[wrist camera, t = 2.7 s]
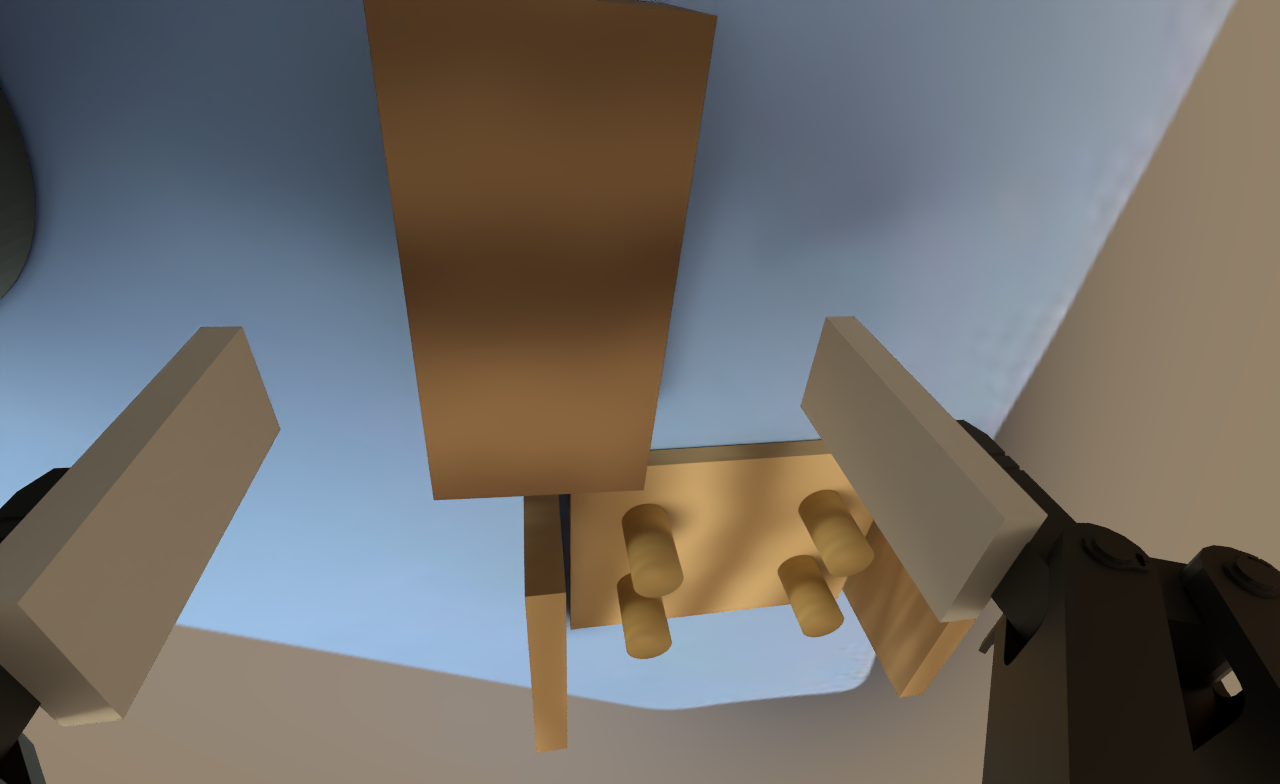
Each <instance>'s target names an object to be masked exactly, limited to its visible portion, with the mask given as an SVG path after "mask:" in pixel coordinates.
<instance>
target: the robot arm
mask: <svg viewBox="0 0 1280 784" xmlns="http://www.w3.org/2000/svg"><path fill="white" fill-rule="evenodd" d="M34 224H35V195H34V187H33V180H32V174H31V170H30V165H29V161H28V156H27V153H26V150H25V147H24V144H23V140H22V137H21V134H20V132H19V129H18V127H17V124H16V122H15V119H14V117H13V114H12V112H11V109H10V107H9V105H8V103H7V101H6V99H5V97H4V95H3V93H2V91H1V89H0V299H1V298H2V297H3V296H4V295H5V294H6V293H7V291H8V290H9V289H10V288H11V287H12V285H13V284H14V282H15V281H16V279H17V278H18V276H19V275H20V273H21V270H22V268H23V266H24V264H25V262H26V260H27V257H28V254H29V251H30V248H31V243H32V238H33V233H34ZM801 408H802V409H803V411H804V412H805V414H806V415H807V417H808V419H809V420H810V422H811V423H812V425H813V426H814V428H815V429H816V431H817V433H818V434H819V436H820V437H821V439H822V440H823V442H824V443H825V445H826V447H827V448H828V450H829V451H830V453H831V454H832V456H833V457H834V459H835V460H836V462H837V464H838V465H839V467H840V468H841V470H842V471H843V473H844V474H845V476H846V478H847V479H848V481H849V482H850V484H851V485H852V487H853V488H854V490H855V492H856V493H857V495H858V496H859V498H860V499H861V501H862V502H863V504H864V505H865V507H866V509H867V510H868V512H869V513H870V515H871V516H872V518H873V519H874V521H875V523H876V524H877V526H878V527H879V529H880V530H881V532H882V533H883V535H884V537H885V538H886V540H887V541H888V543H889V544H890V546H891V547H892V549H893V550H894V552H895V554H896V555H897V557H898V558H899V560H900V561H901V563H902V564H903V566H904V568H905V569H906V571H907V572H908V574H909V575H910V577H911V578H912V580H913V582H914V583H915V585H916V586H917V588H918V589H919V591H920V592H921V594H922V595H923V597H924V599H925V600H926V602H927V603H928V605H929V606H930V608H931V609H932V611H933V613H934V614H935V616H936V617H937V619H938V620H939V622H940V623H942V622H950V621H959V620H967V619H976V618H978V616H979V615H980V613H981V612H982V610H983V609H984V608H985V606H986V605H987V603H988V602H989V600H990V599H991V597H992V599H993V600H994V601H995V602H996V604H997V605H998V607H999V608H1000V609H1001V611H1002V612H1003V614H1002V616H1001V617H1000V619H999V620H998V621H997V623H996V624H995V626H994V627H993V628H992V630H991V631H990V633H989V634H988V635H987V637H986V638H985V639H984V641H983V642H982V644H981V646H980V649H979V651H980V652H982V653H984V654H985V653H986V652H987V651H988V649H989V648H990V647H991V645H993V644H994V655H993V665H992V678H991V689H990V700H989V711H988V724H987V734H986V747H985V757H984V768H983V781H982V784H1280V571H1278V570H1277V569H1275V568H1274V567H1273V566H1272V565H1270V564H1269V563H1267V562H1266V561H1264V560H1262V559H1258V557H1255V556H1253V555H1251V554H1248V553H1245V552H1242V551H1239V550H1236V549H1234V548H1230V547H1224V546H1215V545H1213V546H1209V547H1206V548H1203V549H1202V550H1201V551H1200V552H1199V553H1198V554H1197V555H1196V556H1195V557H1194V558H1193V559H1192V560H1191V561H1190V562H1189V563H1188V564H1183V563H1178V562H1173V561H1167V560H1162V559H1156V558H1151V557H1149V556H1148V555H1147V554H1146V553H1145V552H1144V551H1143V550H1142V549H1141V548H1140V547H1139V546H1137V545H1136V544H1134V543H1133V542H1132V541H1130V540H1129V539H1127V538H1126V537H1125V536H1122V535H1121V534H1119V533H1116V532H1114V531H1112V530H1110V529H1108V528H1105V527H1102V526H1098V525H1094V524H1091V523H1076V522H1075V521H1074V520H1073V519H1072V518H1071V517H1070V516H1069V515H1068V514H1067V513H1066V512H1065V511H1064V510H1063V509H1062V508H1061V507H1060V506H1059V505H1058V504H1057V503H1056V502H1055V501H1054V500H1053V499H1052V498H1051V497H1050V496H1049V495H1048V494H1047V493H1046V492H1045V491H1044V490H1043V489H1042V488H1041V487H1040V486H1039V485H1038V484H1037V483H1036V482H1035V481H1034V480H1033V479H1031V478H1030V476H1029V475H1028V474H1027V473H1026V472H1025V471H1023V470H1020V469H1019V465H1017V463H1015V462H1014V461H1013V460H1012V459H1011V458H1010V457H1009V456H1005V452H1004V451H1003V450H1002V449H1001V448H1000V447H999V446H998V445H997V444H996V443H995V442H994V441H993V440H992V439H991V438H990V437H989V436H988V435H987V434H985V433H984V432H982V431H981V430H979V429H977V428H976V427H974V426H972V425H971V424H969V423H968V422H966V421H964V420H955V419H954V418H953V417H952V416H951V415H950V414H949V413H948V412H947V411H946V410H945V409H944V408H943V407H942V406H941V405H940V404H939V403H938V402H937V401H936V400H935V399H934V398H933V397H932V396H931V395H930V394H929V393H928V392H927V390H926V389H925V388H924V387H923V386H922V385H921V384H920V383H919V382H918V381H917V380H916V379H915V378H914V377H913V376H912V375H911V374H910V373H909V372H908V371H907V370H906V369H905V368H904V367H903V366H902V365H901V364H900V363H899V362H898V361H897V360H896V359H895V358H894V357H893V356H892V355H891V354H890V353H889V351H888V350H887V349H886V348H885V347H884V346H883V345H882V344H881V343H880V342H879V341H878V340H877V339H876V338H875V337H874V336H873V335H872V334H871V333H870V332H869V331H868V330H867V329H866V328H865V327H864V326H863V325H862V324H861V323H860V322H859V321H858V320H857V319H856V318H855V317H826V319H825V322H824V326H823V329H822V333H821V336H820V340H819V343H818V347H817V350H816V354H815V357H814V361H813V364H812V368H811V371H810V375H809V378H808V382H807V385H806V389H805V392H804V396H803V399H802V403H801ZM279 431H280V427H279V424H278V421H277V419H276V416H275V413H274V411H273V408H272V405H271V403H270V400H269V397H268V395H267V392H266V389H265V387H264V384H263V381H262V379H261V376H260V373H259V371H258V368H257V365H256V362H255V360H254V357H253V354H252V352H251V349H250V346H249V344H248V341H247V338H246V336H245V333H244V330H243V328H242V326H236V327H201V328H200V329H199V330H198V331H197V332H196V333H195V334H194V335H193V336H192V337H191V339H190V340H189V341H188V342H187V343H186V344H185V345H184V346H183V347H182V348H181V349H180V350H179V351H178V353H177V354H176V355H175V356H174V357H173V358H172V359H171V360H170V361H169V362H168V363H167V364H166V366H165V367H164V368H163V369H162V370H161V371H160V372H159V373H158V374H157V375H156V376H155V377H154V378H153V380H152V381H151V382H150V383H149V384H148V385H147V386H146V387H145V388H144V389H143V390H142V391H141V392H140V394H139V395H138V396H137V397H136V398H135V399H134V400H133V401H132V402H131V403H130V404H129V405H128V407H127V408H126V409H125V410H124V411H123V412H122V413H121V414H120V415H119V416H118V417H117V418H116V419H115V421H114V422H113V423H112V424H111V425H110V426H109V427H108V428H107V429H106V430H105V431H104V432H103V433H102V435H101V436H100V437H99V438H98V439H97V440H96V441H95V442H94V443H93V444H92V445H91V446H90V448H89V449H88V450H87V451H86V452H85V453H84V454H83V455H82V456H81V457H80V458H79V459H78V460H77V462H76V463H75V464H74V465H73V466H72V467H71V468H54V469H52V470H51V471H49V472H48V473H46V474H44V475H43V476H41V477H40V478H38V479H36V480H35V481H33V482H32V483H30V484H29V485H27V486H25V487H24V488H22V489H21V490H19V491H17V492H16V493H15V494H14V495H13V496H12V497H11V498H10V499H9V500H8V501H7V502H6V503H5V504H4V505H3V506H2V508H1V509H0V784H46V782H45V779H44V776H43V773H42V769H41V767H40V763H39V760H38V757H37V754H36V751H35V748H34V745H33V744H32V742H31V741H30V740H29V739H28V738H27V737H26V736H25V735H24V734H23V733H22V732H23V730H24V729H25V727H26V726H27V724H28V723H29V721H30V719H31V718H32V717H33V715H34V714H35V712H36V710H37V709H38V708H39V706H40V707H41V708H43V709H44V710H45V711H46V712H47V713H48V714H49V715H50V716H51V717H52V718H53V719H54V720H55V721H56V722H57V723H58V724H59V725H61V726H62V727H63V726H71V725H80V724H88V723H97V722H105V721H113V720H122V719H124V717H125V715H126V714H127V712H128V710H129V708H130V706H131V704H132V702H133V701H134V699H135V697H136V695H137V693H138V691H139V689H140V688H141V686H142V684H143V682H144V680H145V678H146V677H147V674H148V673H149V671H150V669H151V667H152V665H153V664H154V662H155V660H156V658H157V656H158V654H159V652H160V651H161V649H162V647H163V645H164V643H165V641H166V640H167V638H168V636H169V634H170V632H171V630H172V628H173V627H174V625H175V623H176V621H177V619H178V617H179V616H180V614H181V612H182V610H183V608H184V606H185V605H186V603H187V601H188V599H189V597H190V595H191V593H192V592H193V590H194V588H195V586H196V584H197V582H198V581H199V579H200V577H201V575H202V573H203V571H204V569H205V568H206V566H207V564H208V562H209V560H210V558H211V556H212V555H213V553H214V551H215V549H216V547H217V545H218V544H219V542H220V540H221V538H222V536H223V534H224V532H225V531H226V529H227V527H228V525H229V523H230V521H231V520H232V518H233V516H234V514H235V512H236V510H237V508H238V507H239V505H240V503H241V501H242V499H243V497H244V496H245V494H246V492H247V490H248V488H249V486H250V484H251V483H252V481H253V479H254V477H255V475H256V473H257V472H258V470H259V468H260V466H261V464H262V462H263V460H264V459H265V457H266V455H267V453H268V451H269V449H270V448H271V446H272V444H273V442H274V440H275V438H276V436H277V435H278V433H279ZM1232 670H1233V672H1234V673H1235V675H1236V676H1237V679H1238V680H1239V682H1240V684H1241V687H1242V689H1243V690H1242V691H1240V692H1239V693H1238V694H1237V695H1235V696H1232V697H1231V696H1230V694H1229V693H1228V692H1227V690H1226V689H1225V687H1224V685H1223V683H1222V681H1221V679H1222V678H1224V677H1225V676H1226V675H1227V674H1229V673H1230V672H1231V671H1232Z"/></svg>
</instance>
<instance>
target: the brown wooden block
mask: <svg viewBox="0 0 1280 784" xmlns="http://www.w3.org/2000/svg"><path fill="white" fill-rule="evenodd" d="M363 3H364V10H365V18H366V25H367V32H368V39H369V46H370V53H371V60H372V67H373V74H374V81H375V88H376V95H377V102H378V109H379V116H380V124H381V131H382V138H383V145H384V152H385V159H386V166H387V173H388V180H389V187H390V194H391V201H392V208H393V215H394V222H395V229H396V237H397V244H398V251H399V258H400V265H401V272H402V279H403V286H404V293H405V300H406V307H407V314H408V321H409V328H410V335H411V342H412V350H413V357H414V364H415V371H416V378H417V385H418V392H419V399H420V406H421V413H422V420H423V427H424V434H425V441H426V448H427V455H428V463H429V470H430V477H431V484H432V491H433V498H434V500H449V499H470V498H491V497H512V496H534V495H555V494H576V493H598V492H619V491H640V490H644V486H645V479H646V473H647V466H648V460H649V453H650V447H651V440H652V434H653V427H654V421H655V415H656V408H657V402H658V395H659V389H660V382H661V376H662V369H663V363H664V356H665V350H666V344H667V337H668V331H669V324H670V318H671V311H672V305H673V298H674V292H675V285H676V279H677V272H678V266H679V260H680V253H681V247H682V240H683V234H684V227H685V221H686V214H687V208H688V201H689V195H690V188H691V182H692V176H693V169H694V163H695V156H696V150H697V143H698V137H699V130H700V124H701V117H702V111H703V105H704V98H705V92H706V85H707V79H708V72H709V66H710V59H711V53H712V46H713V40H714V33H715V27H716V21H717V16H715V15H711V14H706V13H702V12H698V11H694V10H689V9H685V8H681V7H676V6H672V5H668V4H661V3H653V2H646V1H638V0H363Z"/></svg>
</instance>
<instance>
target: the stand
mask: <svg viewBox="0 0 1280 784" xmlns="http://www.w3.org/2000/svg"><path fill="white" fill-rule="evenodd" d="M524 567H525V606H526V619H527V632H528V645H529V658H530V671H531V684H532V697H533V710H534V722H535V735H536V749H537V753H538V752H545V751H551V750H558V749H565V748H567V656H566V586H565V573H564V560H563V547H562V534H561V521H560V508H559V495H558V494H555V495H534V496H524ZM841 590H843V592H844V593H845V595H846V597H847V599H848V601H849V603H850V605H851V607H852V609H853V611H854V613H855V614H856V616H857V618H858V620H859V622H860V624H861V626H862V628H863V630H864V632H865V634H866V636H867V637H868V639H869V641H870V643H871V645H872V647H873V649H874V651H875V653H876V655H877V657H878V659H879V660H880V662H881V664H882V666H883V668H884V670H885V672H886V673H887V676H888V678H889V680H890V681H891V683H892V685H893V687H894V689H895V691H896V693H897V695H898V697H907V696H913V695H920V694H923V693H924V692H925V691H926V689H927V688H928V686H929V685H930V683H931V682H932V681H933V679H934V678H935V676H936V675H937V674H938V672H939V671H940V669H941V668H942V667H943V665H944V663H945V662H946V661H947V660H948V658H949V657H950V655H951V654H952V653H953V651H954V650H955V648H956V647H957V646H958V644H959V643H960V641H961V640H962V638H963V637H964V636H965V634H966V633H967V631H968V630H969V629H970V627H971V626H972V624H973V623H974V622H975V620H976V619H977V618H976V619H967V620H959V621H950V622H942V623H940V622H939V620H938V619H937V617H936V616H935V614H934V613H933V611H932V609H931V608H930V606H929V605H928V603H927V602H926V600H925V599H924V597H923V595H922V594H921V592H920V591H919V589H918V588H917V586H916V585H915V583H914V582H913V580H912V578H911V577H910V575H909V574H908V572H907V571H906V569H905V568H904V566H903V564H902V563H901V561H900V560H899V558H898V557H897V555H896V554H895V552H894V550H893V549H892V547H891V546H890V544H889V543H888V541H887V540H886V538H885V537H884V535H883V533H882V532H881V530H880V529H879V527H878V526H877V524H876V523H875V521H874V519H873V518H872V516H871V515H870V513H869V512H868V510H867V509H866V507H865V505H864V504H863V502H862V501H861V499H860V498H859V496H858V495H857V493H856V492H855V490H854V488H853V487H852V485H851V484H850V482H849V481H848V479H847V478H846V476H845V474H844V473H843V471H842V470H841V468H840V467H839V465H838V464H837V462H836V460H835V459H834V457H833V456H832V454H831V453H830V451H829V450H828V448H827V447H826V445H825V443H824V442H823V440H813V441H796V442H780V443H764V444H748V445H732V446H716V447H699V448H683V449H667V450H651V451H650V453H649V460H648V466H647V473H646V479H645V486H644V490H640V491H619V492H598V493H576V494H569V615H570V627H571V629H580V628H588V627H597V626H606V625H614V624H623V630H624V637H625V643H626V649H627V653H628V654H629V655H630V656H631V657H634V658H638V659H648V658H653V657H656V656H659V655H661V654H663V653H664V652H666V651H667V650H668V649H669V648H670V646H671V644H672V640H671V636H670V632H669V627H668V623H667V618H675V617H684V616H692V615H701V614H709V613H718V612H727V611H735V610H744V609H753V608H761V607H770V606H779V605H787V604H791V606H792V608H793V611H794V613H795V615H796V618H797V620H798V622H799V625H800V627H801V629H802V632H803V634H804V635H806V636H808V637H820V636H824V635H827V634H829V633H831V632H833V631H835V630H836V629H838V628H839V627H840V626H841V625H842V623H843V621H844V617H843V615H842V613H841V611H840V609H839V607H838V605H837V603H836V601H835V599H838V597H839V594H840V592H841ZM991 598H992V597H991Z"/></svg>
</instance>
